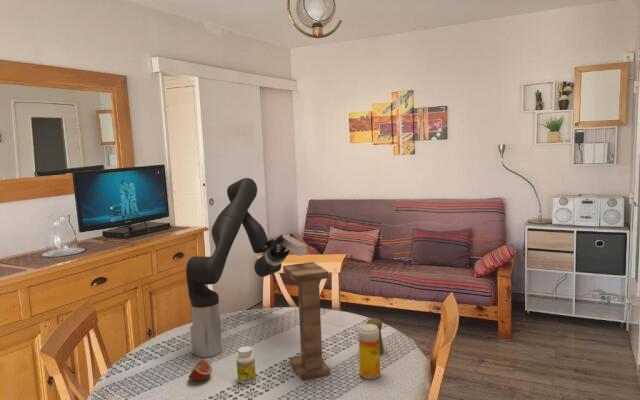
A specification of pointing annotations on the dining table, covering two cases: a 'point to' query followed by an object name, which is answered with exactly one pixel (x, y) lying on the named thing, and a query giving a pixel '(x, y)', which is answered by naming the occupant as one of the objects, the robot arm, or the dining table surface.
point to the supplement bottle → (245, 365)
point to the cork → (379, 325)
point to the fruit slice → (201, 370)
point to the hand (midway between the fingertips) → (287, 237)
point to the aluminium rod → (294, 245)
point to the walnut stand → (308, 320)
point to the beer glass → (369, 351)
